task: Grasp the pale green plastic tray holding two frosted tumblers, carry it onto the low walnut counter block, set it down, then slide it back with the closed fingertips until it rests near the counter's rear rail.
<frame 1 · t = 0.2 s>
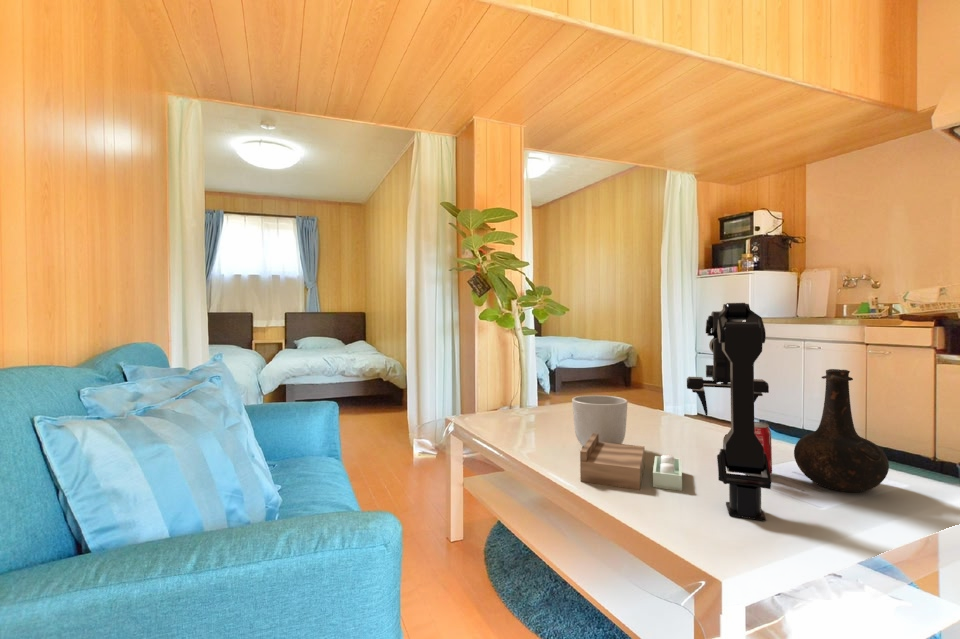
hand: (725, 416, 118), 14 cm above the table, fingers open, 9 cm apart
tray: (667, 479, 112), on the table
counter: (614, 472, 117), on the table
soda can: (755, 474, 115), on the table
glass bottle: (839, 486, 107), on the table
planter: (599, 448, 140), on the table
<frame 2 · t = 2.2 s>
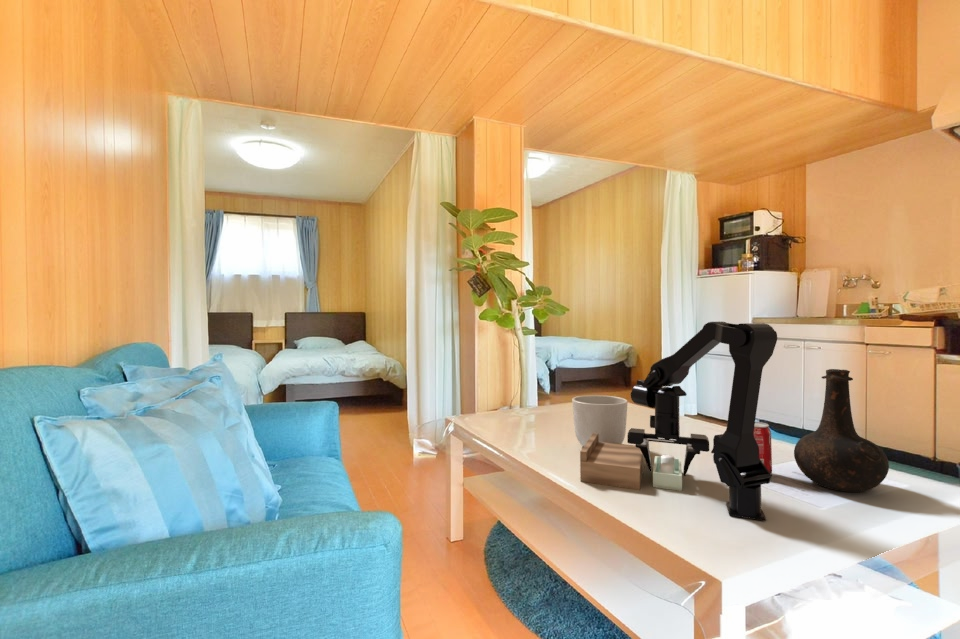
hand: (667, 473, 112), 1 cm above the table, fingers open, 8 cm apart
nothing on the table moved.
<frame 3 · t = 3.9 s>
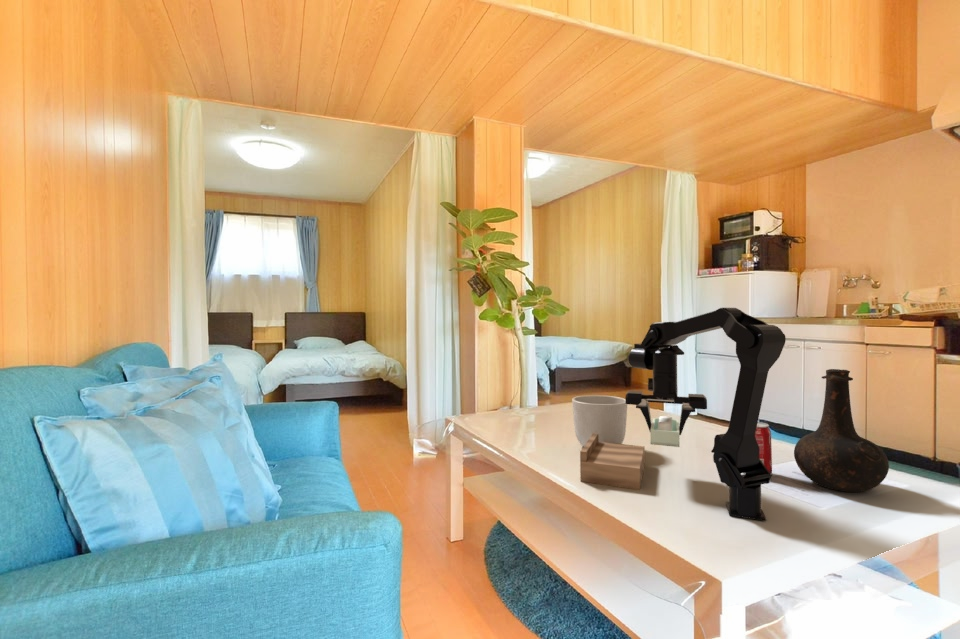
hand: (665, 433, 112), 11 cm above the table, fingers closed on tray, 6 cm apart
tray: (665, 438, 112), point 10 cm above the table, touching gripper
everything else where it was.
when the fingers open (8 cm above the table, at t = 5.5 s): tray drops 1 cm, resting on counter.
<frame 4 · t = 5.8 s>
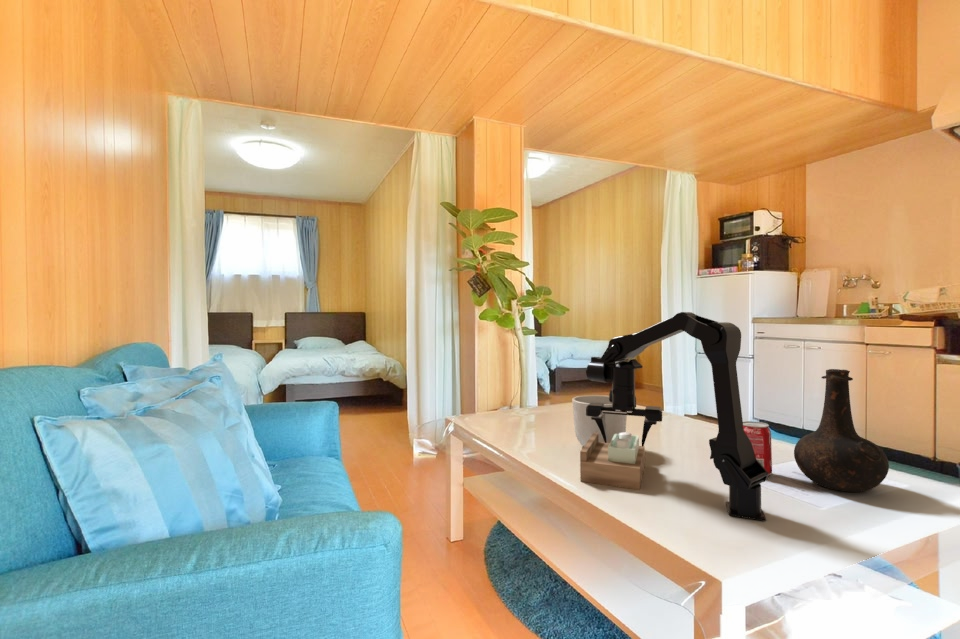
hand: (624, 444, 116), 8 cm above the table, fingers open, 9 cm apart
tray: (624, 454, 116), point 5 cm above the table, touching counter
everything else where it was.
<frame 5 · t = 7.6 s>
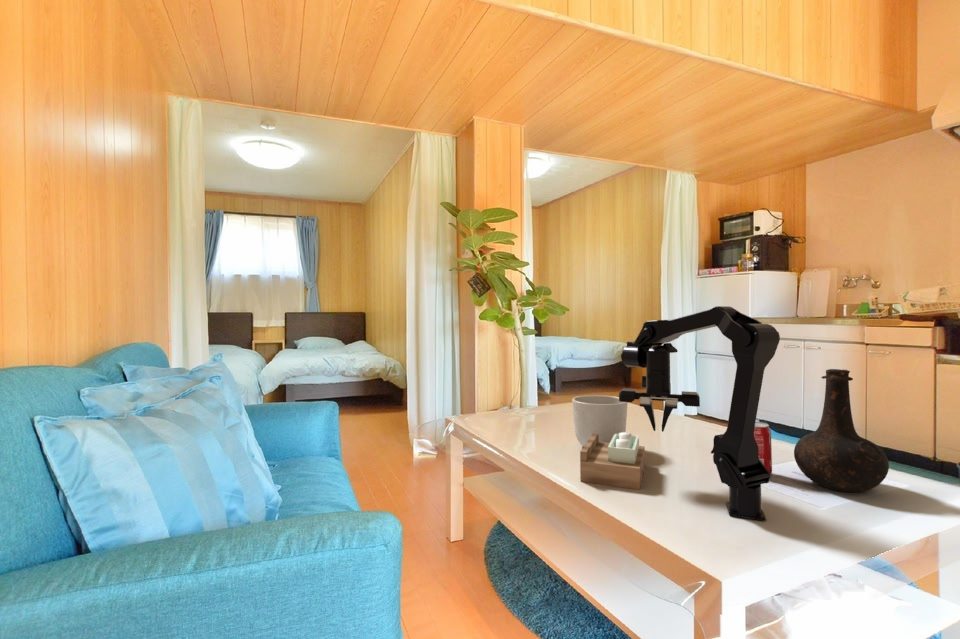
hand: (658, 430, 113), 12 cm above the table, fingers closed
nothing on the table moved.
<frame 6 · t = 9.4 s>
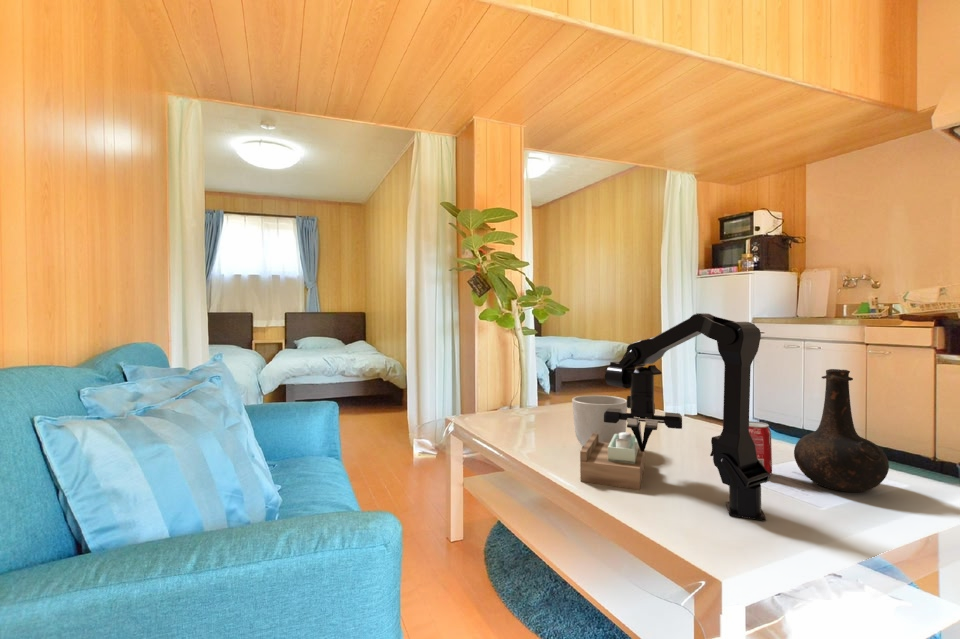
hand: (642, 451, 114), 6 cm above the table, fingers closed
tray: (624, 454, 116), point 5 cm above the table, touching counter, gripper
everything else where it was.
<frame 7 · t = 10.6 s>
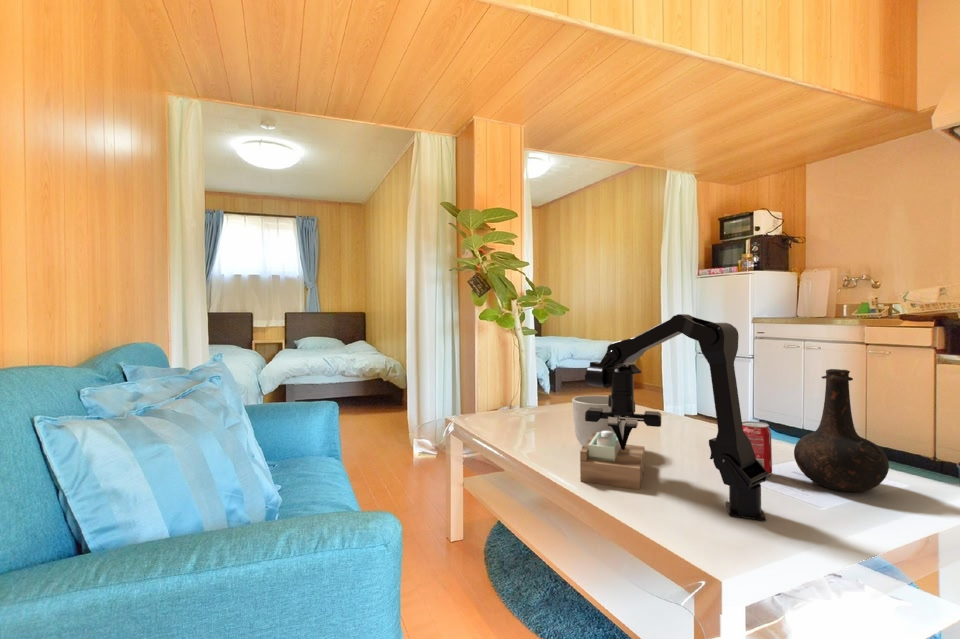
hand: (623, 449, 116), 6 cm above the table, fingers closed
tray: (605, 452, 118), point 5 cm above the table, touching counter, gripper
everything else where it was.
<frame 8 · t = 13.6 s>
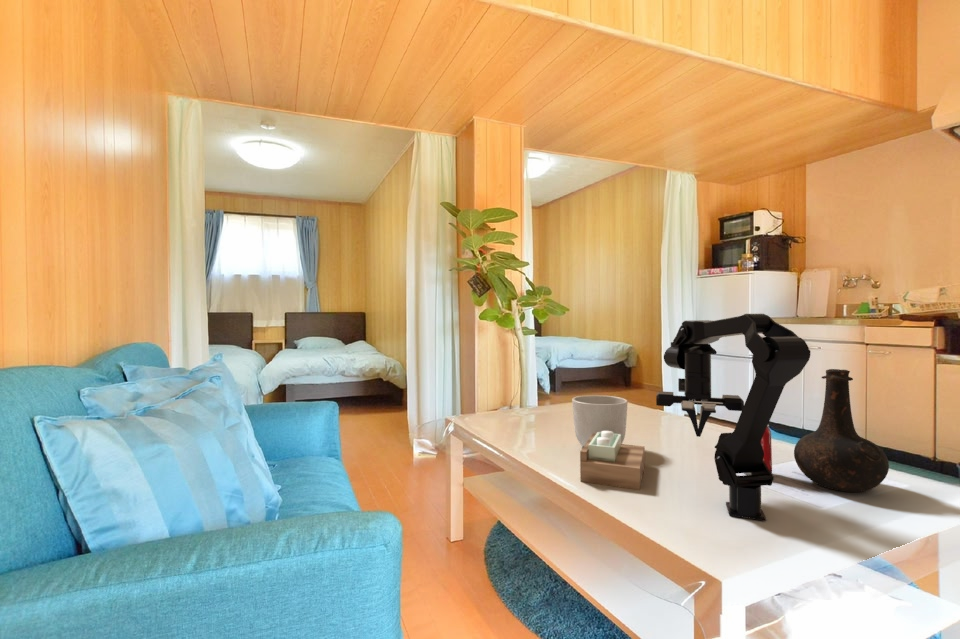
hand: (698, 436, 107), 12 cm above the table, fingers closed
tray: (605, 452, 118), point 5 cm above the table, touching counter
everything else where it was.
at the end: tray inside the target area on the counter (0.1 cm from its centre), point 5.0 cm above the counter's base; tray tilted 0°; the gripper is holding nothing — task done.
